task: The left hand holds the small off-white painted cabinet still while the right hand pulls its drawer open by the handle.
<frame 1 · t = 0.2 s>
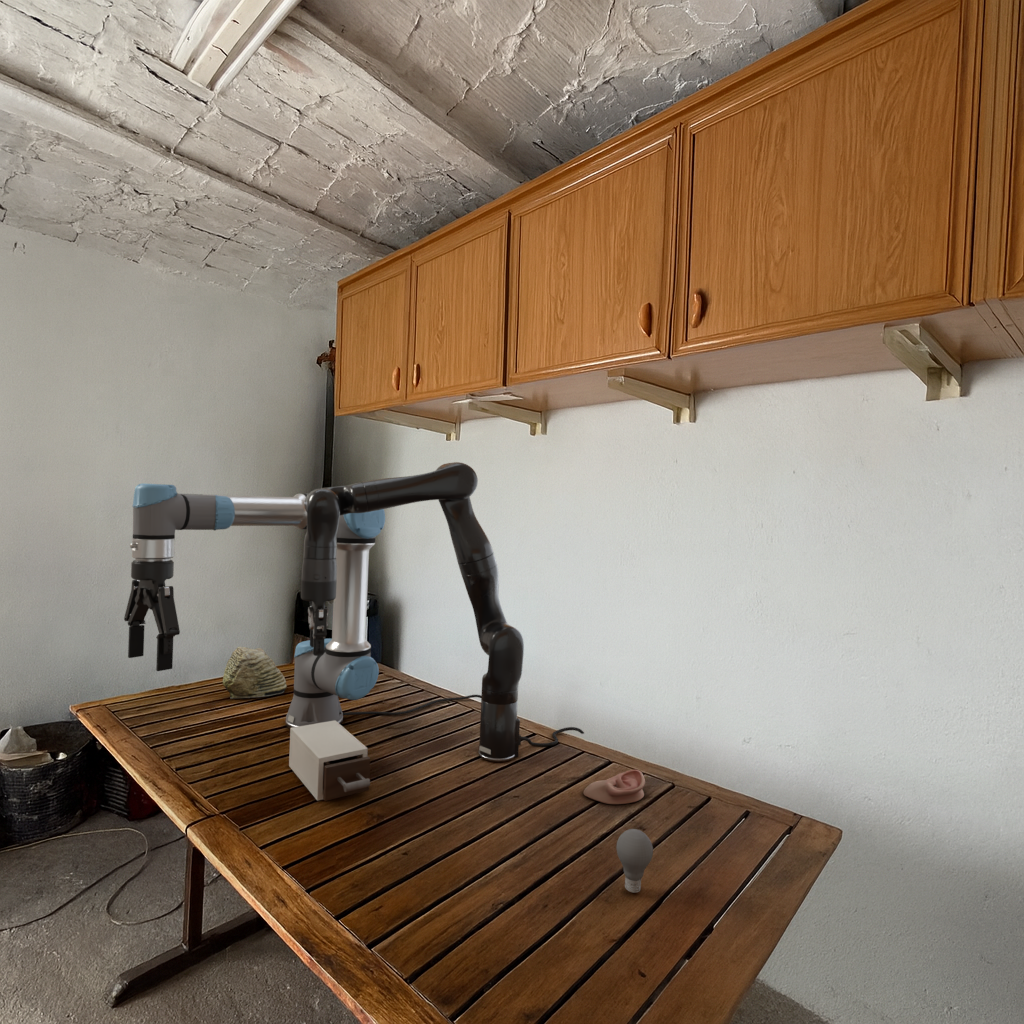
left hand: (149, 663, 129), 28 cm above the table, tool pointing down, fingers open, 13 cm apart
right hand: (316, 650, 141), 29 cm above the table, tool pointing down, fingers open, 8 cm apart
light bulb: (632, 891, 106), on the table
fossil: (254, 694, 198), on the table
anatomical model: (614, 793, 141), on the table
cabinet: (326, 777, 143), on the table
drawer: (337, 767, 138), point 4 cm above the table, slide at 1.7 cm
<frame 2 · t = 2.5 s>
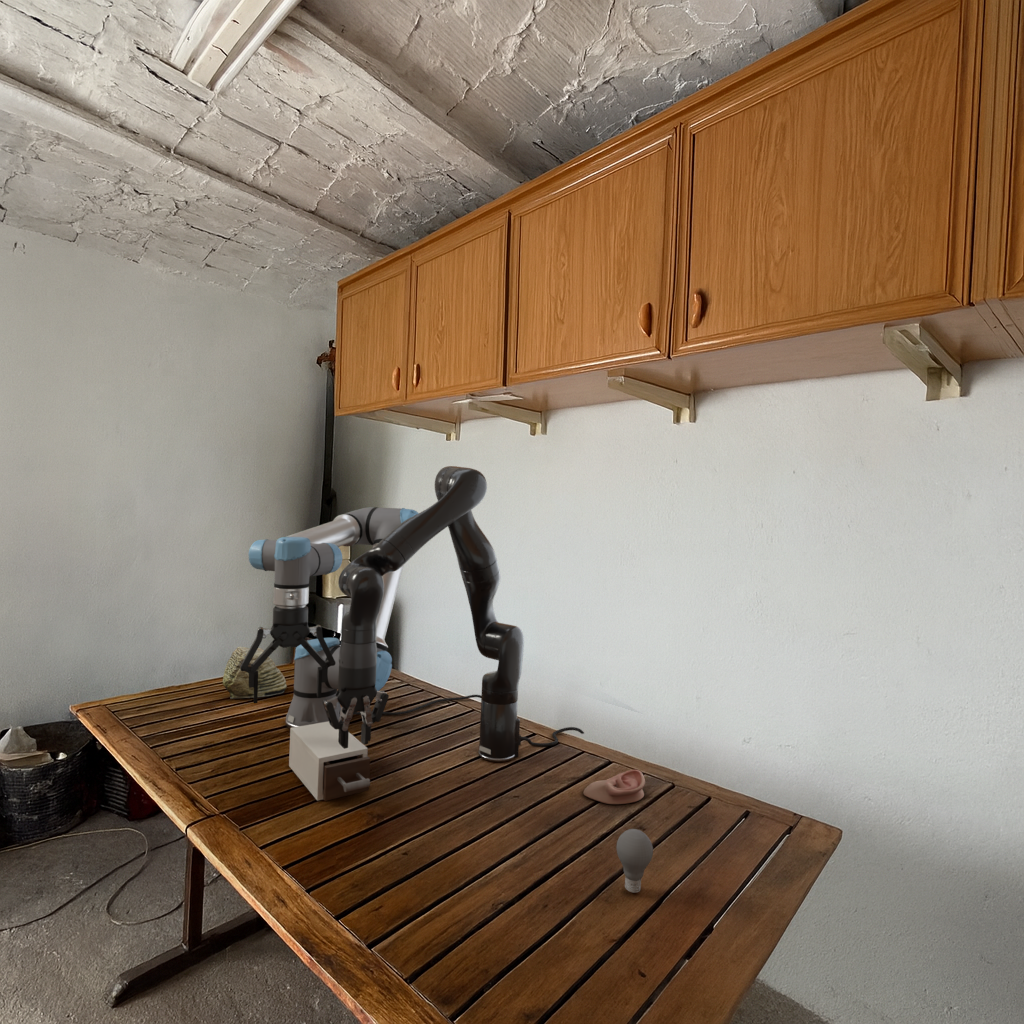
left hand: (287, 699, 144), 17 cm above the table, tool pointing down, fingers open, 13 cm apart
right hand: (354, 744, 130), 13 cm above the table, tool pointing down, fingers open, 3 cm apart
nothing on the table moved.
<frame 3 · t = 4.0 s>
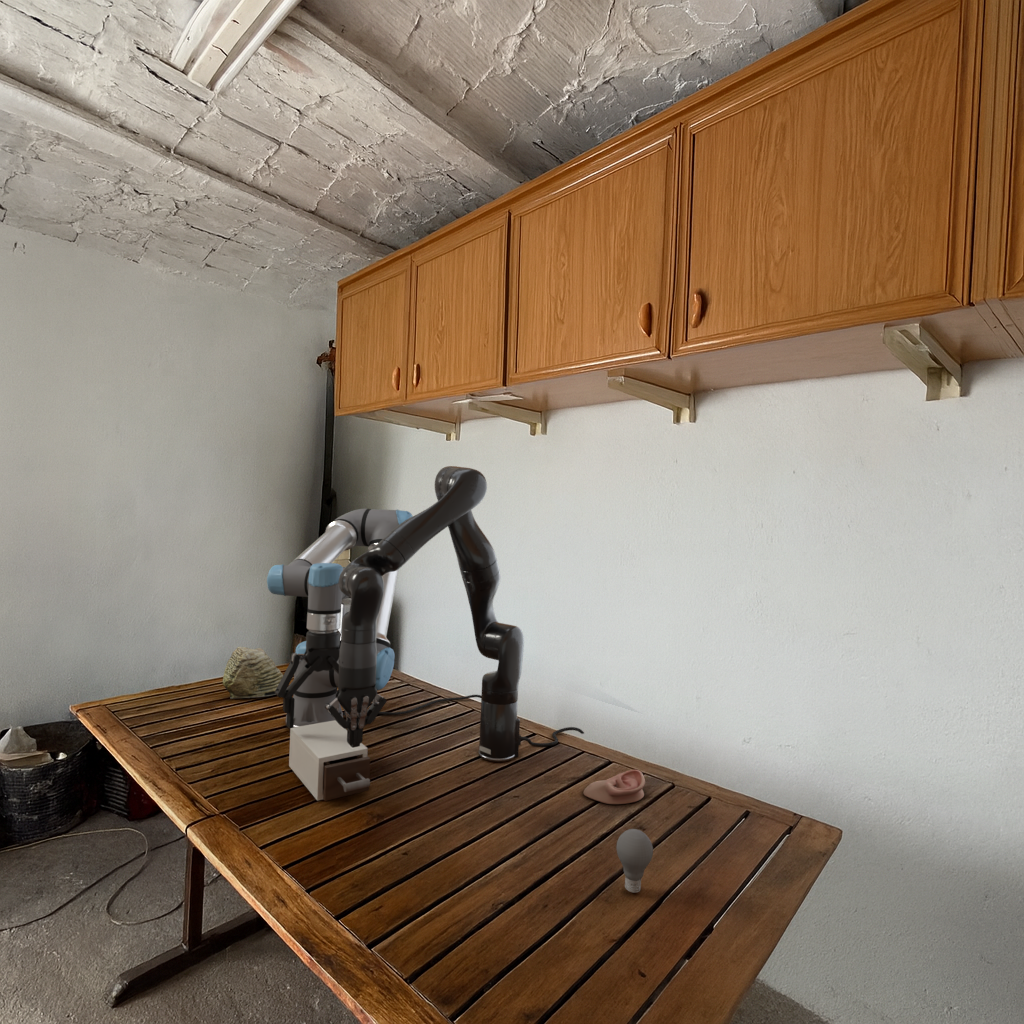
left hand: (319, 721, 147), 11 cm above the table, tool pointing down, fingers open, 13 cm apart
right hand: (354, 745, 130), 12 cm above the table, tool pointing down, fingers closed
nothing on the table moved.
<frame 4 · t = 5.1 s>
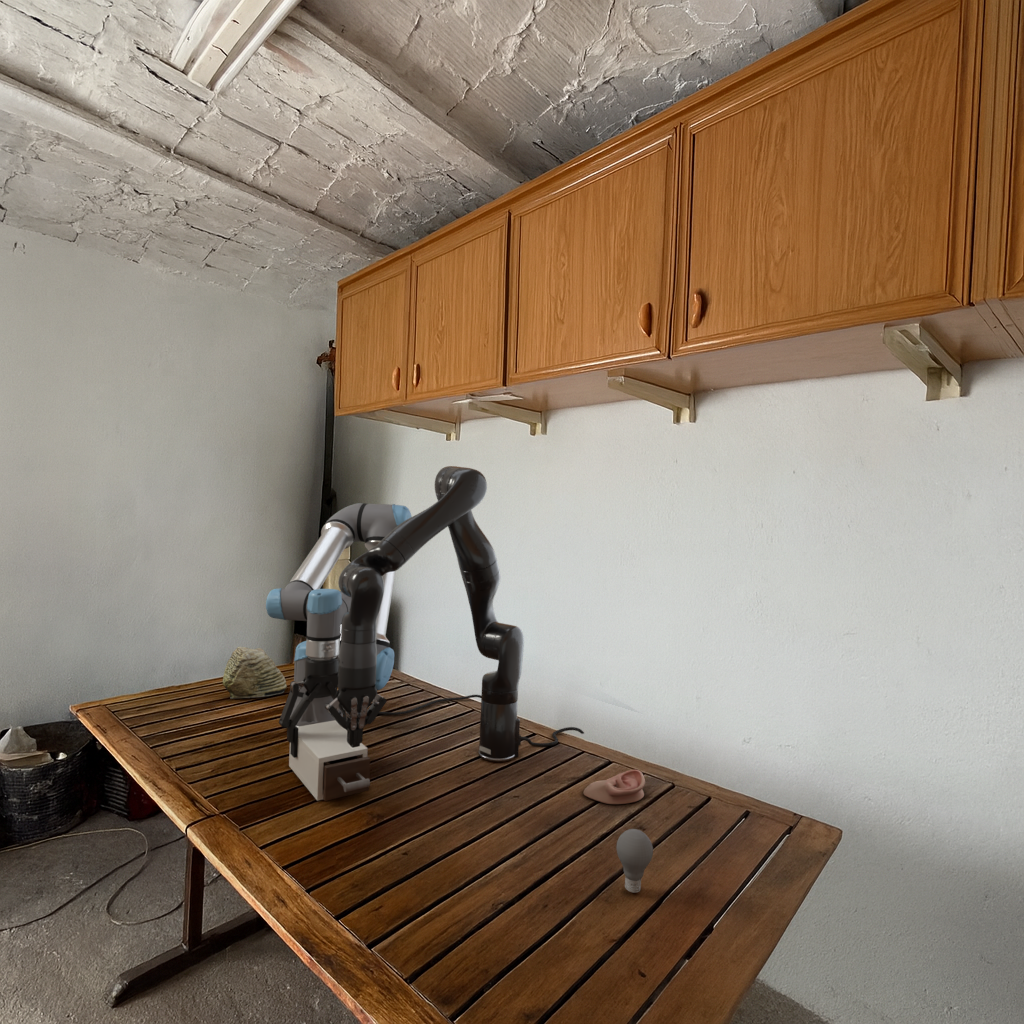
left hand: (318, 750, 147), 4 cm above the table, tool pointing down, fingers closed on cabinet, 11 cm apart
right hand: (354, 745, 130), 12 cm above the table, tool pointing down, fingers closed
cabinet: (326, 777, 143), on the table, touching left hand
everything else where it was.
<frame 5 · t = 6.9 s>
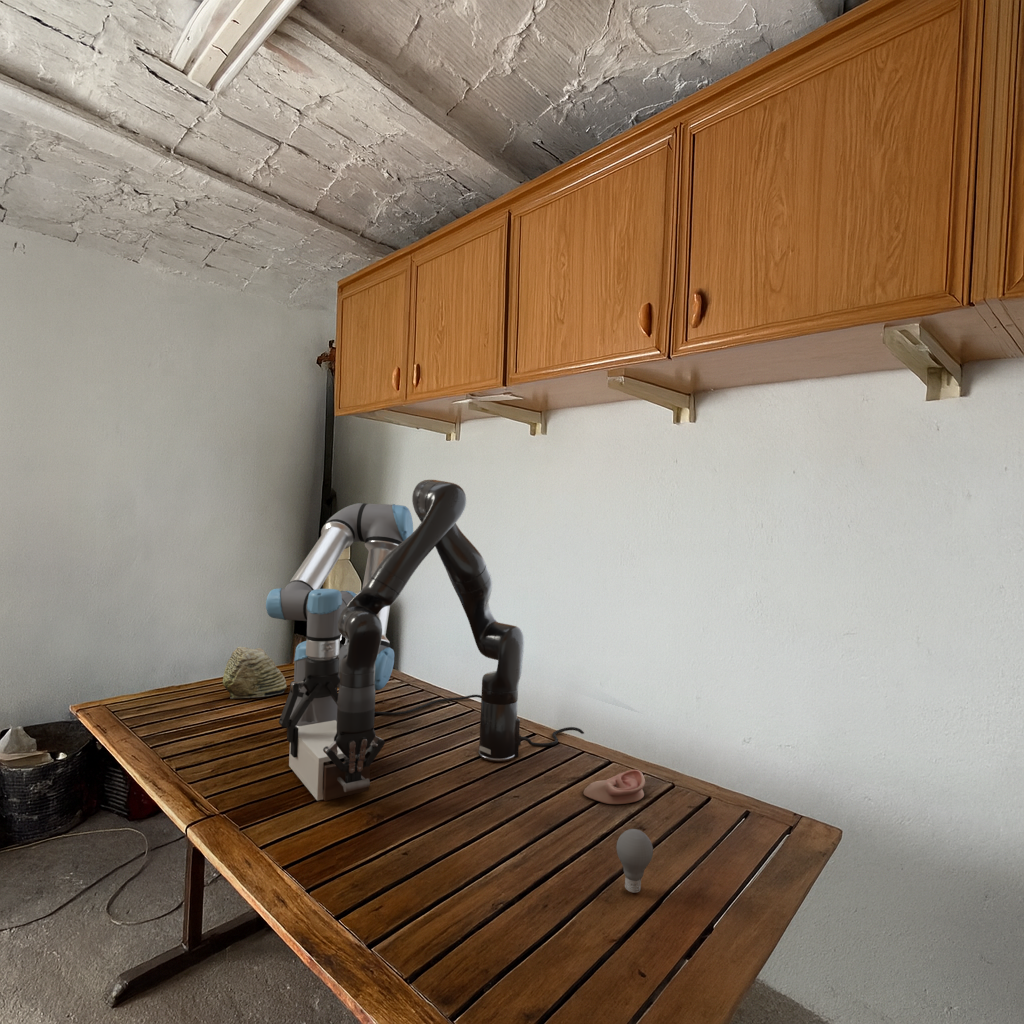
left hand: (318, 750, 147), 4 cm above the table, tool pointing down, fingers closed on cabinet, 11 cm apart
right hand: (352, 788, 130), 4 cm above the table, tool pointing down, fingers closed
cabinet: (326, 777, 143), on the table, touching left hand
drawer: (336, 767, 138), point 4 cm above the table, slide at 1.7 cm, touching right hand
everything else where it was.
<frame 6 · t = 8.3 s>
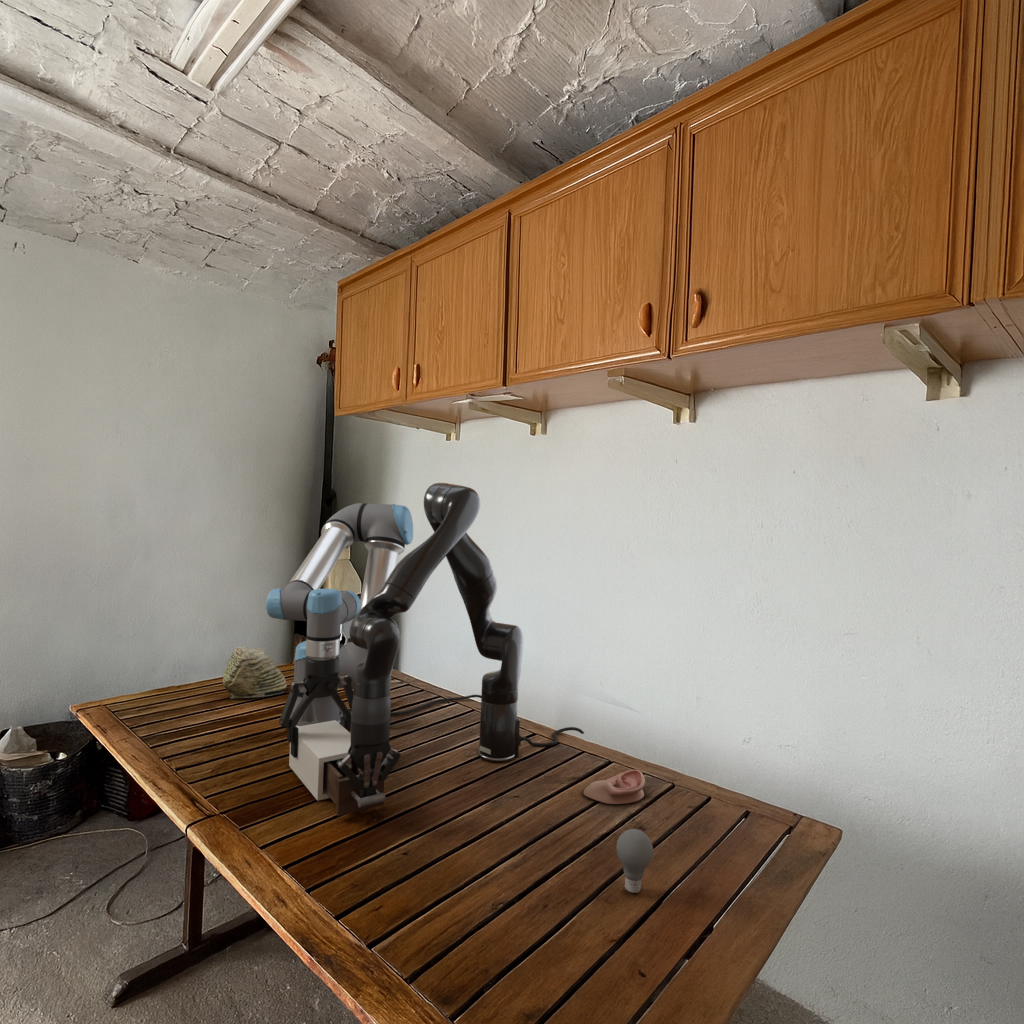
left hand: (318, 750, 147), 4 cm above the table, tool pointing down, fingers closed on cabinet, 11 cm apart
right hand: (367, 803, 124), 4 cm above the table, tool pointing down, fingers closed
cabinet: (326, 777, 143), on the table, touching left hand
drawer: (349, 780, 132), point 4 cm above the table, slide at 9.0 cm, touching right hand
everything else where it was.
when the left hand's fingers open (4 cm above the table, at t = 10.0 s): cabinet stays where it is, on the table.
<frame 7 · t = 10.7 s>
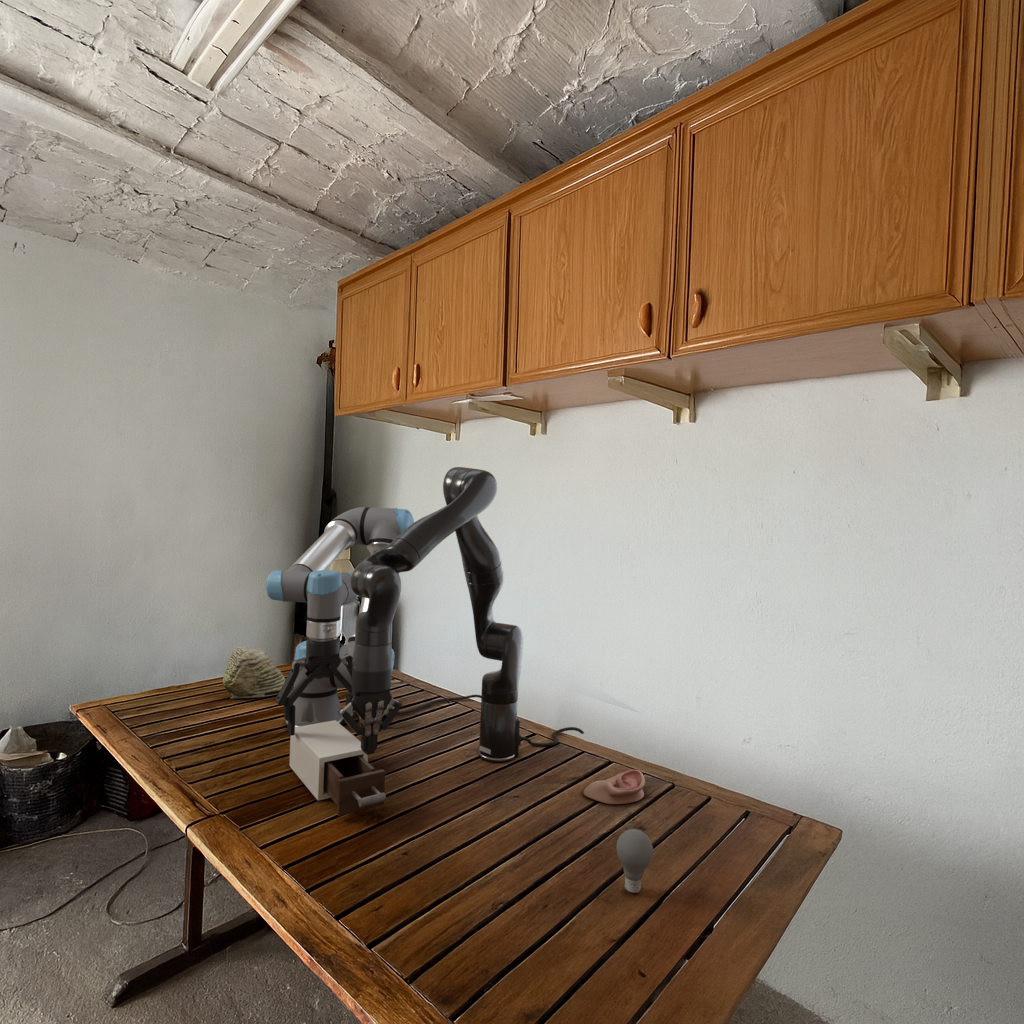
left hand: (320, 727, 148), 9 cm above the table, tool pointing down, fingers open, 13 cm apart
right hand: (368, 752, 125), 14 cm above the table, tool pointing down, fingers closed
cabinet: (326, 777, 143), on the table
drawer: (350, 780, 132), point 4 cm above the table, slide at 9.0 cm
everything else where it was.
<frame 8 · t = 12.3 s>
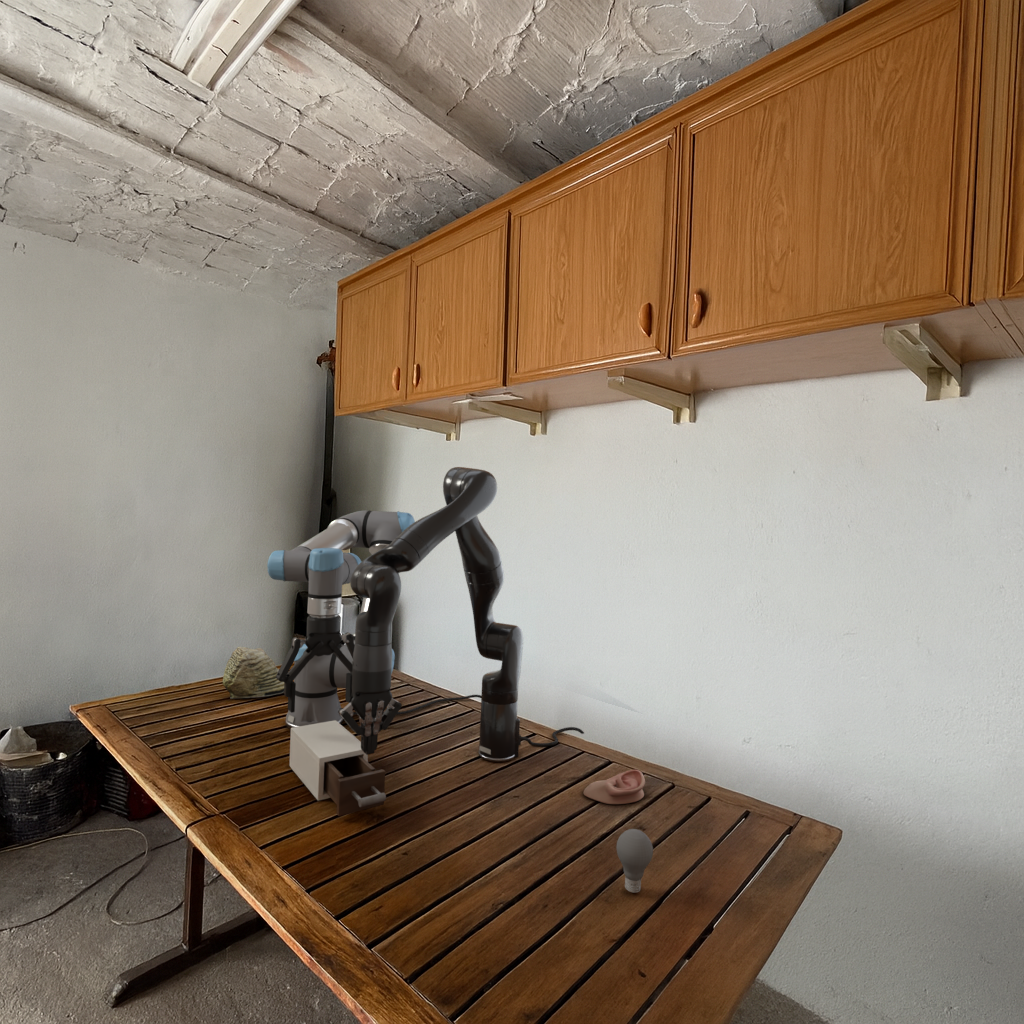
left hand: (320, 706, 147), 15 cm above the table, tool pointing down, fingers open, 13 cm apart
right hand: (368, 752, 125), 14 cm above the table, tool pointing down, fingers closed
nothing on the table moved.
at the end: drawer slide at 9.0 cm; cabinet tilted 0°; cabinet never tilted more than 1° during the clip; cabinet moved 0.1 cm from its start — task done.
